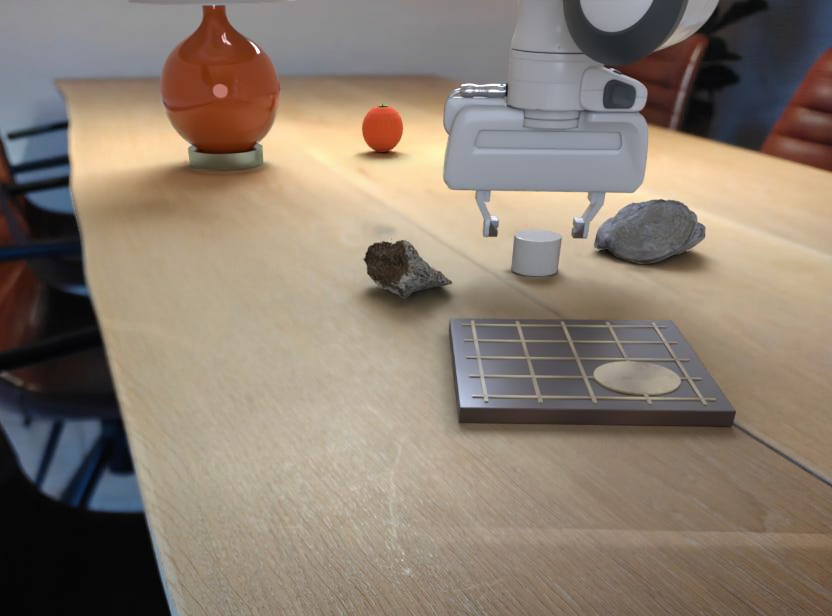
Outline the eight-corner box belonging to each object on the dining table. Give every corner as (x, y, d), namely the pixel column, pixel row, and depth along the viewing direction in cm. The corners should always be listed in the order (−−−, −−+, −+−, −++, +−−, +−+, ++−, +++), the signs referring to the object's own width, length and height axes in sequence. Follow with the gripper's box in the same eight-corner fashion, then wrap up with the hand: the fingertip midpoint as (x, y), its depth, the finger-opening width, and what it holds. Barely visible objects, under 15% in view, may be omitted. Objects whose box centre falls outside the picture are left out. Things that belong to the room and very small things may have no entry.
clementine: (362, 147, 158) (362, 99, 153) (402, 147, 158) (403, 99, 153) (361, 155, 152) (361, 106, 147) (402, 155, 151) (404, 106, 147)
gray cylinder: (554, 263, 100) (558, 229, 98) (560, 276, 96) (565, 241, 94) (509, 262, 101) (512, 229, 98) (513, 276, 97) (516, 241, 94)
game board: (669, 333, 82) (673, 318, 81) (732, 426, 66) (737, 409, 66) (448, 330, 83) (449, 316, 82) (458, 422, 67) (460, 405, 66)
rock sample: (488, 252, 89) (424, 193, 85) (455, 319, 88) (389, 262, 84) (428, 276, 98) (368, 223, 94) (399, 336, 97) (336, 286, 93)
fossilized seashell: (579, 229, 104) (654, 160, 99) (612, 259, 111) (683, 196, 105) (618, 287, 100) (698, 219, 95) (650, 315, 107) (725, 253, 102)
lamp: (120, 173, 141) (72, -158, 117) (191, 146, 159) (162, -145, 136) (267, 183, 134) (247, -166, 111) (323, 153, 153) (317, -151, 129)
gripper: (446, 87, 86) (437, 242, 94) (665, 90, 85) (635, 246, 93) (444, 79, 91) (435, 227, 99) (650, 82, 90) (623, 230, 98)
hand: (534, 236), depth 96 cm, fingers open, 8 cm apart
